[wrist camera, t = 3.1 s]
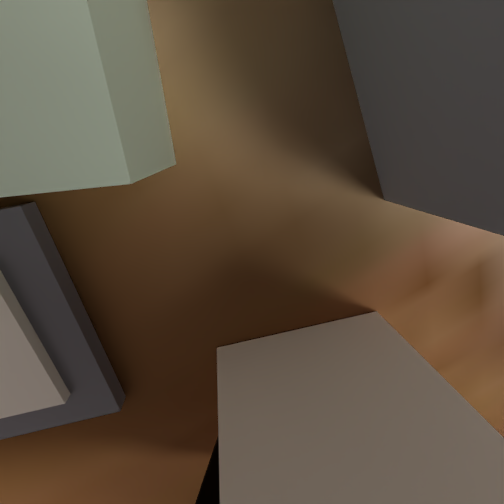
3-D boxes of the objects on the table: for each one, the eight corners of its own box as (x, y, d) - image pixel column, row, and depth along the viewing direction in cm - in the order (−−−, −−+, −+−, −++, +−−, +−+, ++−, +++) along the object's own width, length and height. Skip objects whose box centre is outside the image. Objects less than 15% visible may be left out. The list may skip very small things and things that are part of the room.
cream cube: (376, 422, 10) (510, 647, 6) (245, 455, 10) (275, 722, 5) (376, 311, 8) (575, 509, 4) (216, 347, 8) (222, 612, 4)
